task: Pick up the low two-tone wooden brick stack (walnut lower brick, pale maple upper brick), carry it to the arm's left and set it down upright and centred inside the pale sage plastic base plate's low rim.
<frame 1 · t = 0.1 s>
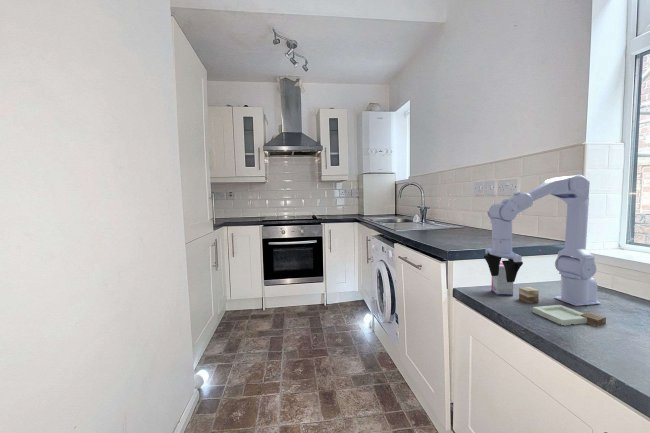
hand: (502, 278, 93), 10 cm above the counter, fingers open, 7 cm apart
base plate: (561, 317, 85), on the counter
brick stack: (528, 300, 99), on the counter
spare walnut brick: (593, 323, 81), on the counter, touching base plate
supplement box: (502, 293, 108), on the counter
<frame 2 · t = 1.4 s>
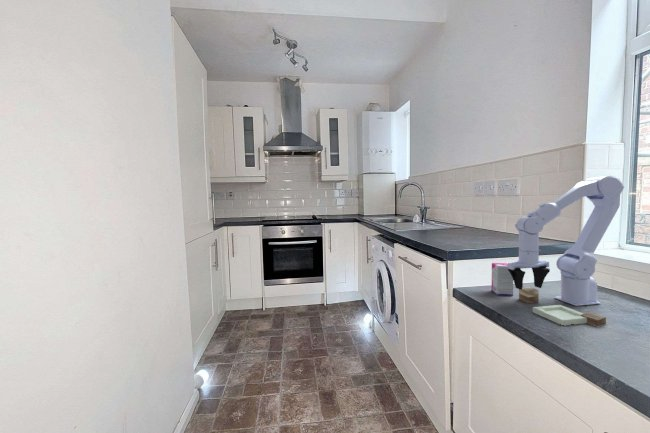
hand: (528, 287, 99), 5 cm above the counter, fingers open, 7 cm apart
nothing on the counter moved.
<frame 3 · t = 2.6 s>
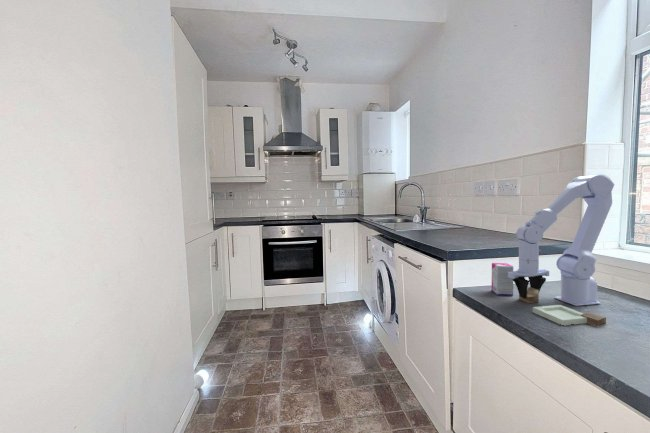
hand: (528, 296, 99), 1 cm above the counter, fingers closed on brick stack, 4 cm apart
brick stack: (528, 300, 99), on the counter, touching gripper
everything else where it was.
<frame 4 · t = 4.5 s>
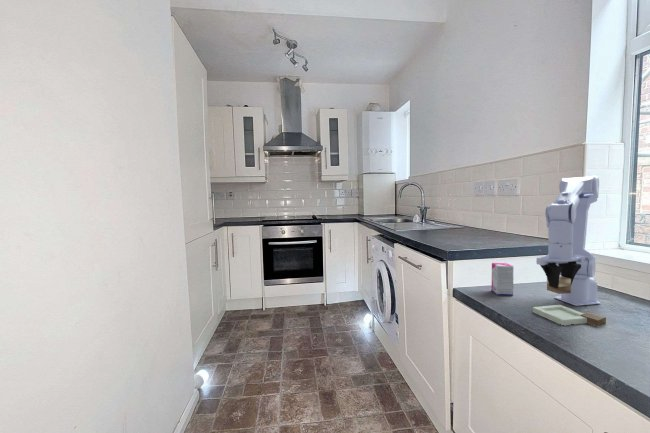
hand: (560, 286, 85), 9 cm above the counter, fingers closed on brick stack, 4 cm apart
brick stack: (558, 291, 85), point 8 cm above the counter, touching gripper
everything else where it was.
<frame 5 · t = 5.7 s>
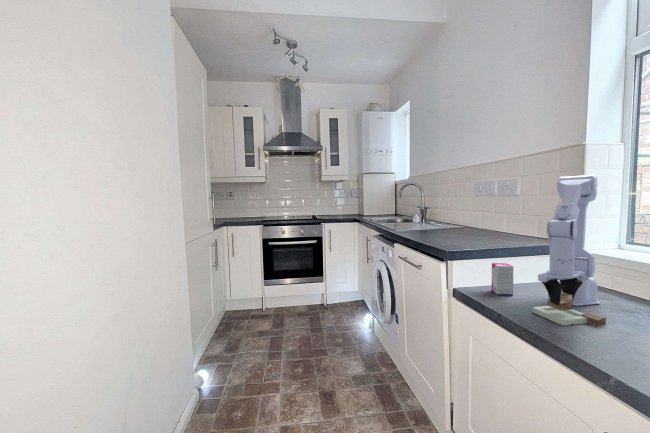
hand: (561, 302, 85), 4 cm above the counter, fingers closed on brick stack, 4 cm apart
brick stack: (559, 307, 85), point 3 cm above the counter, touching gripper
everything else where it was.
when the fingers open (3 cm above the counter, at t = 6.5 s): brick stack stays where it is, resting on base plate.
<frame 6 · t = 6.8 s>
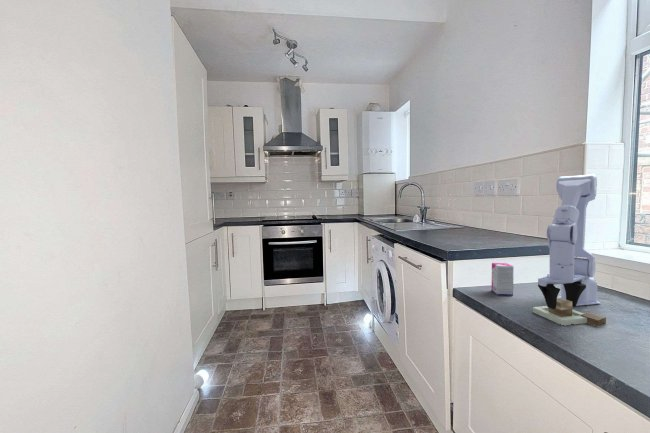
hand: (561, 306, 85), 3 cm above the counter, fingers open, 7 cm apart
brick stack: (560, 313, 85), point 1 cm above the counter, touching base plate
everything else where it was.
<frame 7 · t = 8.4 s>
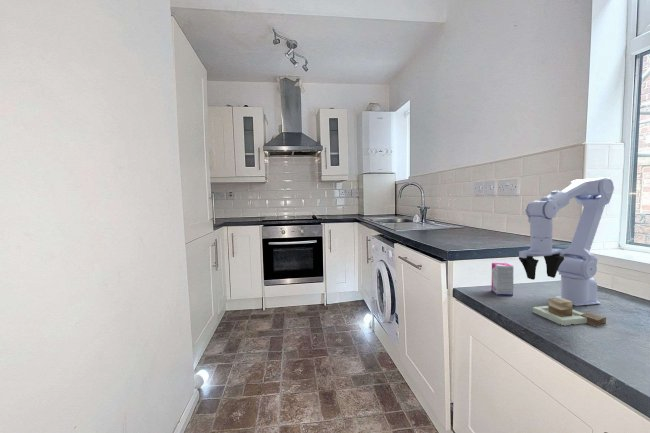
hand: (541, 277, 91), 10 cm above the counter, fingers open, 7 cm apart
nothing on the counter moved.
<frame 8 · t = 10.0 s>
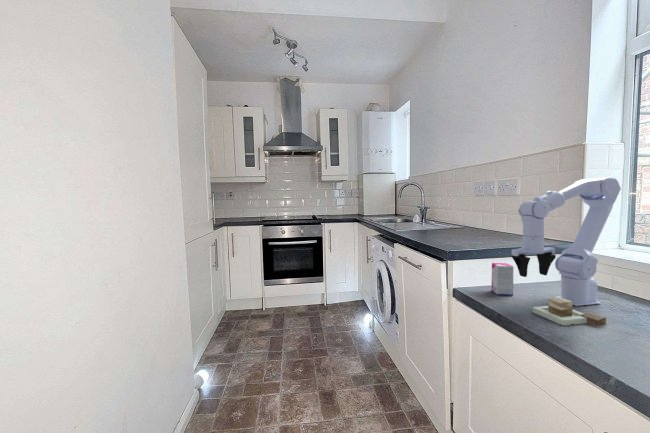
hand: (533, 275, 94), 10 cm above the counter, fingers open, 7 cm apart
nothing on the counter moved.
at the end: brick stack 0.4 cm off-centre on the base plate, point 0.8 cm above the base plate's base; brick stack tilted 0°; the gripper is holding nothing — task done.
